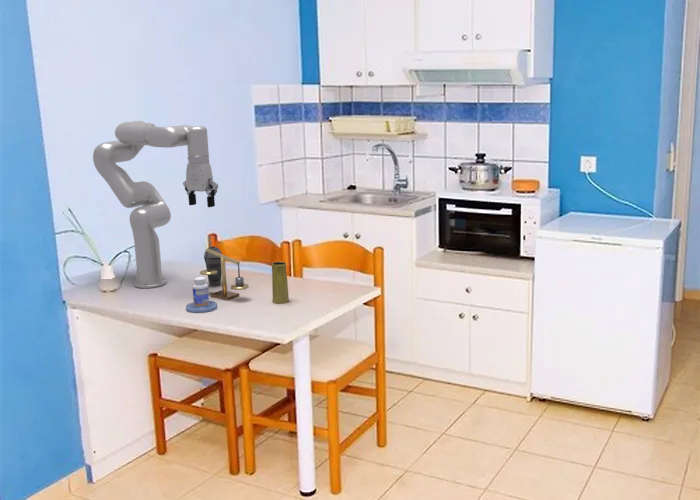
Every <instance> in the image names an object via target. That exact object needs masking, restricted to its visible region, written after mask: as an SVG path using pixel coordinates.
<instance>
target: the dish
mask: <svg viewBox="0 0 700 500" xmlns="http://www.w3.org/2000/svg"><path fill="white" fill-rule="evenodd" d="M217 309H218V303H217V302H216V301H213V300H209V304H208V305H206V306H201V307H199V306H195V305H194V301H192V302H190V303H187V304H186V305H185V311H186V312H187V313H191V314H192V313H193V314H202V313H203V314H204V313H209V312H213V311H215V310H217Z"/></svg>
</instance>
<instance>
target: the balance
mask: <svg viewBox="0 0 700 500" xmlns="http://www.w3.org/2000/svg"><path fill="white" fill-rule="evenodd" d="M205 251H207V266H208V270H207V269H203V270H200V272H199V274H200V275H202V276H208V275H213V274H216V273H217V270H214V269H209V260H208V252H209V253H211V254H214V255H216V256H218V257H220V259H221V286H222V287H221V289H222V290H218V291H215V292H213V293H210V298H214V299H219V300H224V301H231V300H234V299H237V298H239V297H240V293H239V292H234V291H235V290H236V291H240V290H246V289H247V290H248V288H249V284H247V283H245V282H244V277H243V276H241V275H240V274H241V273H240V272H241V271H240V261H238V260H236V259H234V258H231V257H229V256H228V255H224V254H223V253H222V254H220V253H218V252H215V251H213V250H211V249H208V248H205ZM226 261H227V262H230V263H232V264H234V265H237V273H238V274H237V275H238V276H236V277H235V278H234V280H235V281H234V282H235V283H234V284H232V285H230V289H231V290H233V292H232V291H230V290H229V291H228V287H227V284H228V283H227V272H226V271H227V270H226Z"/></svg>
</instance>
